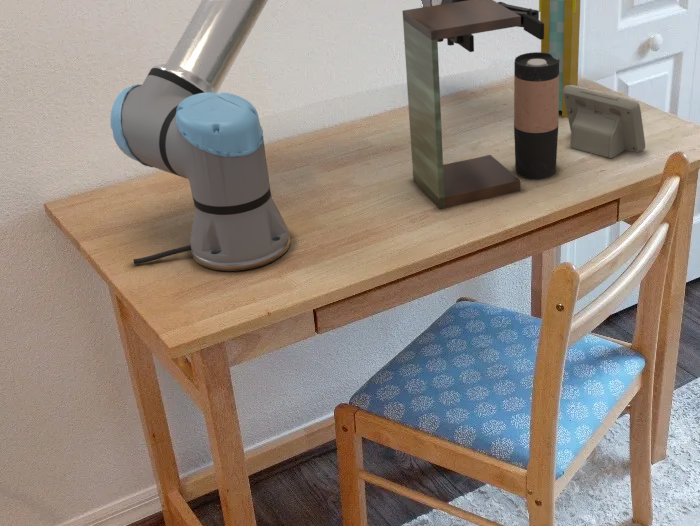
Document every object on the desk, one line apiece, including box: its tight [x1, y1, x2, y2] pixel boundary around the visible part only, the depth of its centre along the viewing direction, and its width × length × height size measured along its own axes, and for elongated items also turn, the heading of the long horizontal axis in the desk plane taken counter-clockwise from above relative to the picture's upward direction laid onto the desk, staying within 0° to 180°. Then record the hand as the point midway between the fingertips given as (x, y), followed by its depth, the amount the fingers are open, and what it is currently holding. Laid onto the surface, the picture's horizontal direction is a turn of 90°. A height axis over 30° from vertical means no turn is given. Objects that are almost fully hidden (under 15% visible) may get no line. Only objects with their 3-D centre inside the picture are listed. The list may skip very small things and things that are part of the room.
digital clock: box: [563, 85, 646, 159], centre depth 183 cm, size 16×9×11 cm, turn 39°
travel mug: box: [513, 51, 560, 180], centre depth 172 cm, size 8×8×20 cm
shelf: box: [402, 0, 521, 210], centre depth 165 cm, size 15×12×30 cm
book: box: [538, 0, 581, 118], centre depth 198 cm, size 17×7×25 cm, turn 168°
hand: (507, 37), depth 175 cm, fingers open, 13 cm apart
